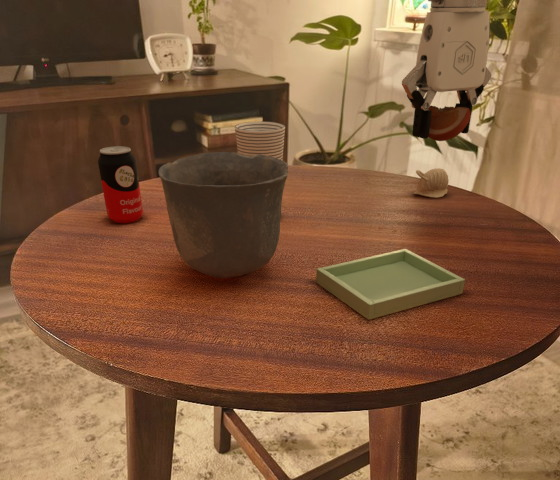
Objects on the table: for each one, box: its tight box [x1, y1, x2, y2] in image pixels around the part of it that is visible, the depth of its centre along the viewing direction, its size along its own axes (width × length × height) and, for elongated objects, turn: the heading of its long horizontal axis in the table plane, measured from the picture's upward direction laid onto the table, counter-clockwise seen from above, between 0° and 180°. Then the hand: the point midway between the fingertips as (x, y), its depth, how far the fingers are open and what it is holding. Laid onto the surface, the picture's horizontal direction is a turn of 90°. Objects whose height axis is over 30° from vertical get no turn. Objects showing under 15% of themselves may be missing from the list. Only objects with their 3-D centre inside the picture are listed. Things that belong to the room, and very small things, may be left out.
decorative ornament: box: [412, 167, 449, 199], centre depth 112 cm, size 4×8×5 cm, turn 109°
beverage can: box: [97, 145, 144, 224], centre depth 99 cm, size 6×6×12 cm
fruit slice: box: [428, 105, 472, 142], centre depth 88 cm, size 8×7×5 cm
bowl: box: [158, 151, 290, 279], centre depth 78 cm, size 18×18×15 cm
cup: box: [234, 120, 286, 161], centre depth 98 cm, size 8×8×16 cm
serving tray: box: [315, 248, 466, 321], centre depth 77 cm, size 16×13×2 cm
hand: (440, 133), depth 89 cm, fingers closed on fruit slice, 7 cm apart
